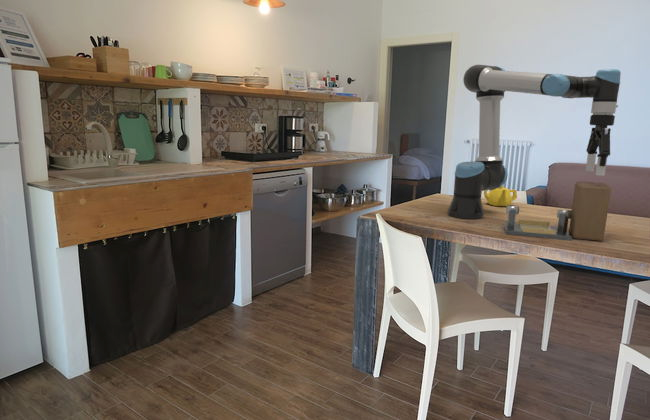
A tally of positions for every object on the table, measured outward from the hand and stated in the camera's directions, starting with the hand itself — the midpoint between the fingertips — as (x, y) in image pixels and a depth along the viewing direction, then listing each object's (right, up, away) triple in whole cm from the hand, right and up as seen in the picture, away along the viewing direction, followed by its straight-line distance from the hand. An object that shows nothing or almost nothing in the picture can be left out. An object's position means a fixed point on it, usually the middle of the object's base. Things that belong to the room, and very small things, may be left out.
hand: (594, 173), depth 168 cm
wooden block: (-3, -24, +1) cm, 24 cm away
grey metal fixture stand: (-19, -22, +6) cm, 30 cm away
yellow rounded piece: (-13, -11, +60) cm, 62 cm away
